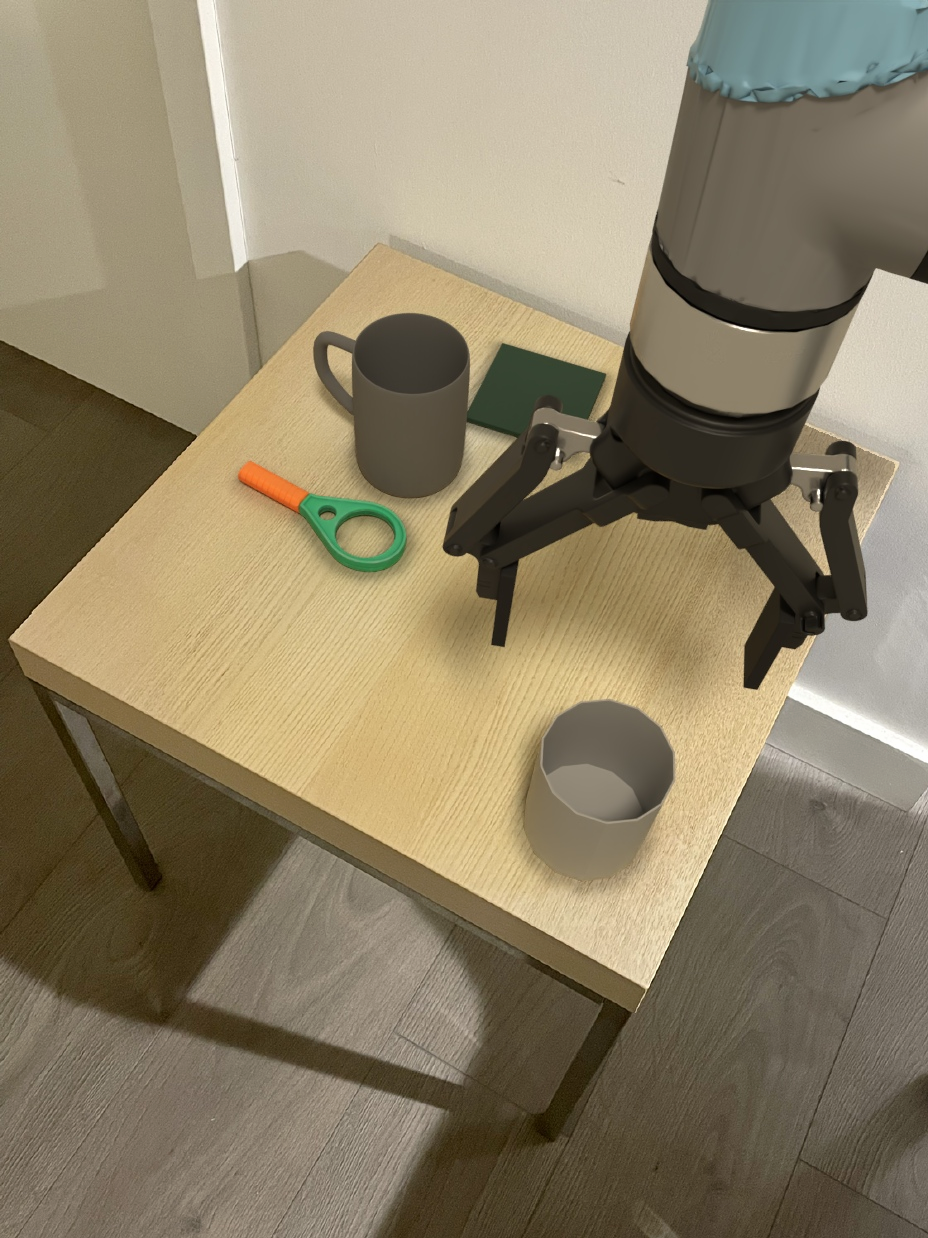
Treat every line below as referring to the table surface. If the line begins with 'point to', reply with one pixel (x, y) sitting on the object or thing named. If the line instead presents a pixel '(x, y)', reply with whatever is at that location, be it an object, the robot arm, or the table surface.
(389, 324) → the mug
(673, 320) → the robot arm
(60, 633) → the table surface
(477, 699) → the table surface
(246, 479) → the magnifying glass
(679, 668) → the table surface
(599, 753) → the cup
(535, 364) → the coaster mat
